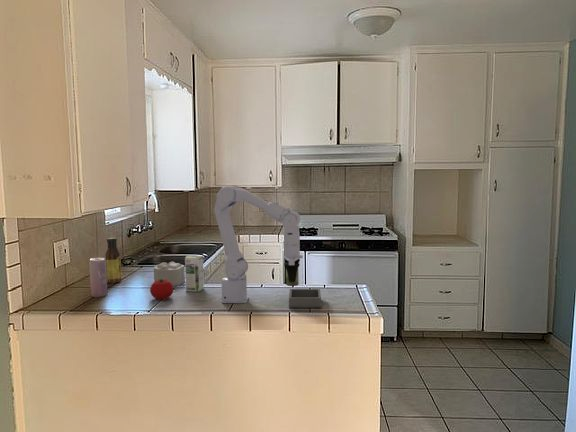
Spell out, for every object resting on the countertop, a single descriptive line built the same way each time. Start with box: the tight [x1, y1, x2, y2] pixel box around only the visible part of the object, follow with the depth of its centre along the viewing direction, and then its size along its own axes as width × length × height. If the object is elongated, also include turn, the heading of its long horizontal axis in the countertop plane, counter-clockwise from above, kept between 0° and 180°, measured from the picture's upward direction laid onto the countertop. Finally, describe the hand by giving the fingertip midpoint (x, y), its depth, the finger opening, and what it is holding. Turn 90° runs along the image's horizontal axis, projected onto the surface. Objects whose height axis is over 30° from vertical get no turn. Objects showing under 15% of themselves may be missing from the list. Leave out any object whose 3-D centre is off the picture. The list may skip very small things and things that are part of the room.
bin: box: [288, 288, 322, 310], centre depth 162 cm, size 12×12×4 cm
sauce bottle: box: [105, 237, 123, 284], centre depth 195 cm, size 7×6×20 cm
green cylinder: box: [285, 269, 300, 287], centre depth 161 cm, size 5×5×6 cm
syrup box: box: [184, 254, 205, 293], centre depth 181 cm, size 6×6×14 cm
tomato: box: [149, 279, 175, 301], centre depth 170 cm, size 9×9×8 cm
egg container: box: [153, 261, 186, 287], centre depth 194 cm, size 10×13×9 cm
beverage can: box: [88, 257, 108, 298], centre depth 174 cm, size 6×6×15 cm
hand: (292, 280), depth 161 cm, fingers closed on green cylinder, 5 cm apart
